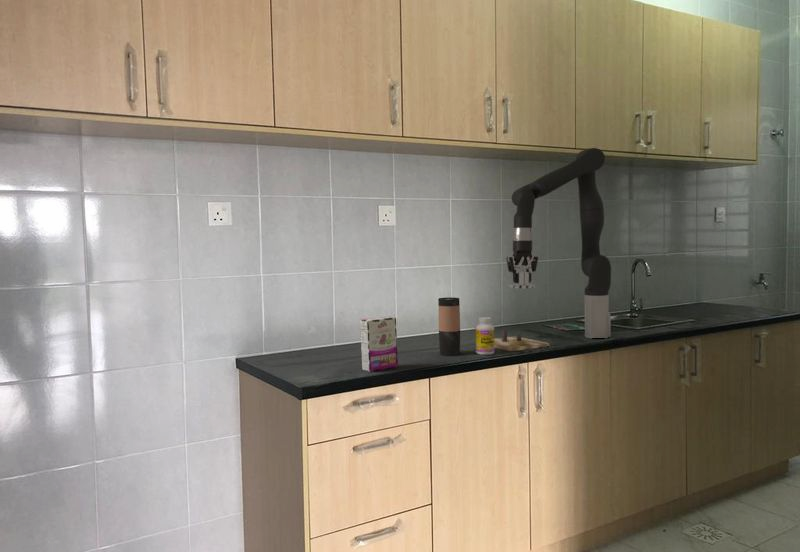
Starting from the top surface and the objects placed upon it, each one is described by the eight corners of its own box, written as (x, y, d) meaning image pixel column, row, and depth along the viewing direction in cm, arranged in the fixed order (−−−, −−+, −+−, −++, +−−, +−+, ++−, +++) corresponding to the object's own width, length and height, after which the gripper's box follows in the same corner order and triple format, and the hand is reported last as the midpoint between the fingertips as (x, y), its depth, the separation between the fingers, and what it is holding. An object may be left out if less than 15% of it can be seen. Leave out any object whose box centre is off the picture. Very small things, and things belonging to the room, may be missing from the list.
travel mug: (464, 353, 229) (463, 297, 228) (454, 356, 223) (452, 299, 221) (446, 351, 233) (444, 297, 232) (435, 355, 227) (434, 299, 226)
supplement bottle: (479, 355, 224) (478, 319, 223) (473, 352, 230) (472, 317, 229) (497, 354, 225) (496, 318, 224) (490, 351, 231) (490, 316, 231)
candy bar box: (389, 365, 211) (388, 315, 210) (398, 367, 207) (397, 317, 206) (360, 370, 204) (359, 319, 203) (369, 372, 200) (368, 320, 199)
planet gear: (524, 286, 257) (524, 271, 257) (540, 288, 248) (540, 272, 248) (504, 287, 253) (504, 271, 252) (519, 289, 244) (519, 272, 244)
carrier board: (514, 339, 258) (514, 324, 257) (549, 346, 239) (549, 331, 239) (477, 343, 249) (477, 328, 249) (510, 351, 231) (510, 335, 230)
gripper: (531, 239, 256) (530, 281, 257) (501, 239, 250) (501, 282, 251) (543, 239, 249) (542, 283, 250) (513, 239, 243) (513, 284, 244)
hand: (522, 282), depth 250 cm, fingers closed on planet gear, 5 cm apart
